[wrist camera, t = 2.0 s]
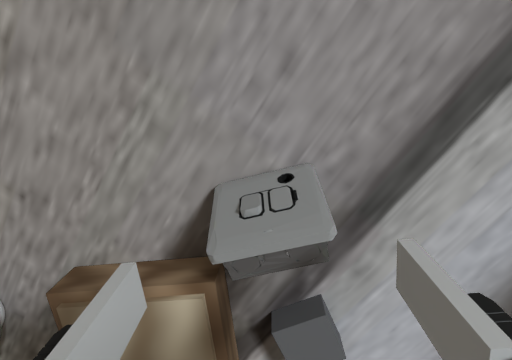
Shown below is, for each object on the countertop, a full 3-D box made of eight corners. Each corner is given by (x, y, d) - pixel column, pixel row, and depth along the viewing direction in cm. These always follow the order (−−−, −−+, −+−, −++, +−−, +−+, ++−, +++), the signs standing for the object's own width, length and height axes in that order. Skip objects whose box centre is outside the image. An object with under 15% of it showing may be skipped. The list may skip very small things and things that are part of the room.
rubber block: (320, 292, 30) (325, 314, 27) (339, 333, 31) (346, 358, 28) (271, 309, 30) (271, 333, 27) (291, 348, 32) (293, 374, 29)
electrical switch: (312, 160, 26) (333, 206, 18) (322, 209, 27) (345, 270, 20) (215, 183, 27) (195, 236, 19) (230, 229, 28) (218, 295, 21)
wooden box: (222, 255, 28) (213, 286, 24) (241, 375, 32) (236, 421, 28) (74, 266, 29) (40, 298, 25) (110, 382, 33) (86, 427, 29)
